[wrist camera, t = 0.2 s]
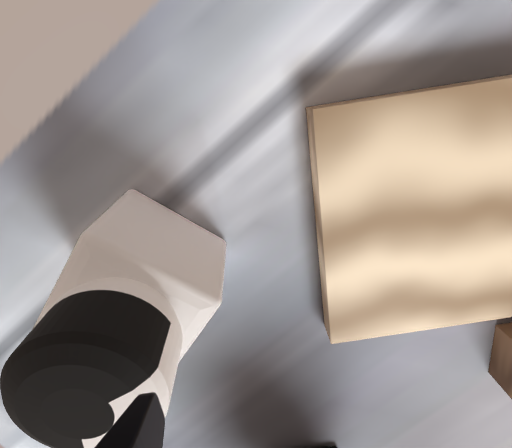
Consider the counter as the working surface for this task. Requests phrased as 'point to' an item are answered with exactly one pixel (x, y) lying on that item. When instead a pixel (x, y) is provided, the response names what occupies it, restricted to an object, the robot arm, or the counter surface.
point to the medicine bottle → (114, 323)
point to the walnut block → (502, 357)
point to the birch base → (414, 208)
